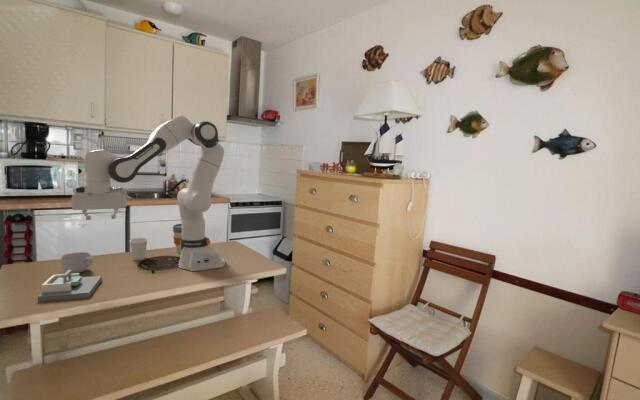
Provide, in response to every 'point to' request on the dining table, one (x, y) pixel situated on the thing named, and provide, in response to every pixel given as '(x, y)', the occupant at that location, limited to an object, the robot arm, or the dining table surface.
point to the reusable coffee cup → (177, 236)
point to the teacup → (76, 262)
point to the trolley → (69, 279)
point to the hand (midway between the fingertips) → (101, 219)
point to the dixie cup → (138, 248)
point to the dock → (68, 288)
